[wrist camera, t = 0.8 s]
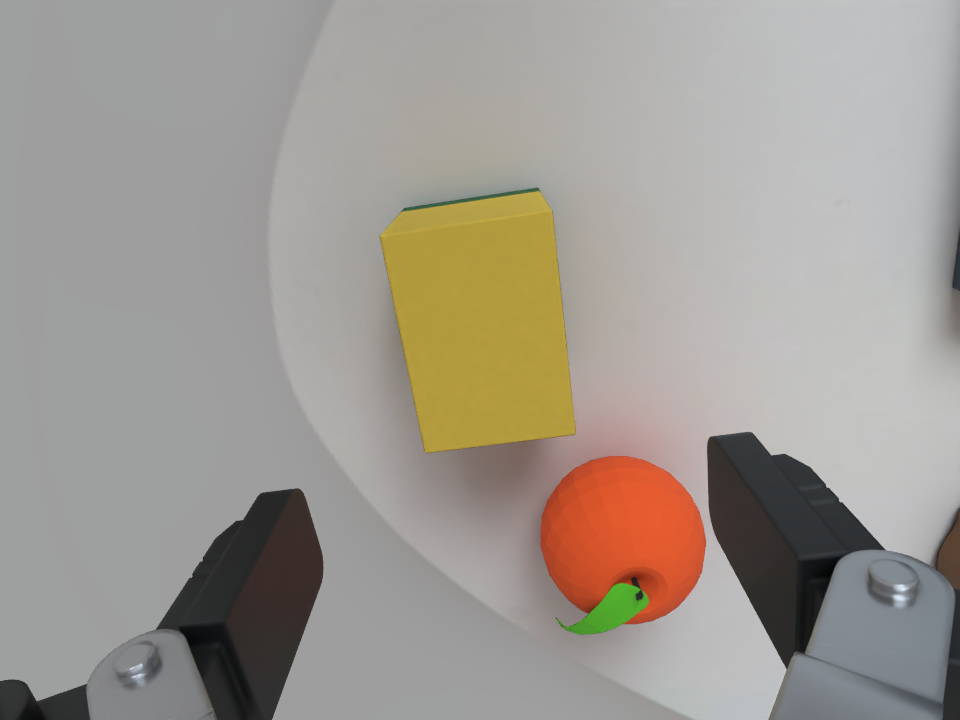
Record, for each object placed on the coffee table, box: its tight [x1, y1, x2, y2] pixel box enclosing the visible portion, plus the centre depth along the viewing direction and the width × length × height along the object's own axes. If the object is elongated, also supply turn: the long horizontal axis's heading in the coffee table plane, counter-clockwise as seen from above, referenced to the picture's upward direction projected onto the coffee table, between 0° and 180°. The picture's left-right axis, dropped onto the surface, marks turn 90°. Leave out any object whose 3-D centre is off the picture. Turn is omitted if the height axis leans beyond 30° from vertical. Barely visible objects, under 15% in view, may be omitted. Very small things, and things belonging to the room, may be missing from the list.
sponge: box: [380, 188, 576, 453], centre depth 24 cm, size 8×6×6 cm
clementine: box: [541, 456, 706, 635], centre depth 27 cm, size 8×7×7 cm
